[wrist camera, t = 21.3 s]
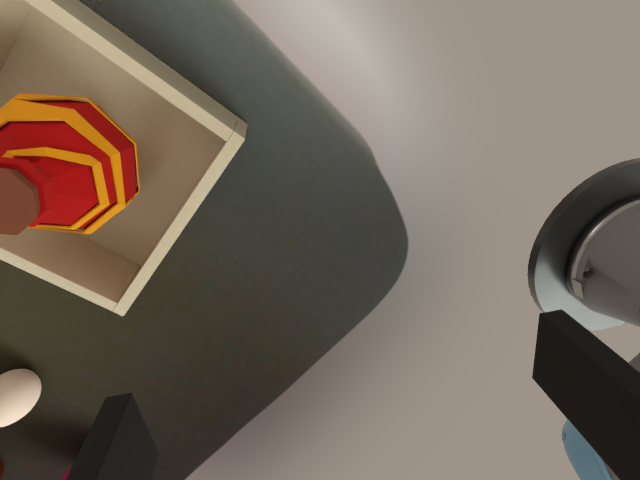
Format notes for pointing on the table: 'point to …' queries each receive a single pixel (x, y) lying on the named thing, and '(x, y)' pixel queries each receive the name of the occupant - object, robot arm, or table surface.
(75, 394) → the table surface
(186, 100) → the cream open box
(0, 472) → the mug
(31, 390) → the egg
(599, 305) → the robot arm
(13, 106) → the potion bottle
